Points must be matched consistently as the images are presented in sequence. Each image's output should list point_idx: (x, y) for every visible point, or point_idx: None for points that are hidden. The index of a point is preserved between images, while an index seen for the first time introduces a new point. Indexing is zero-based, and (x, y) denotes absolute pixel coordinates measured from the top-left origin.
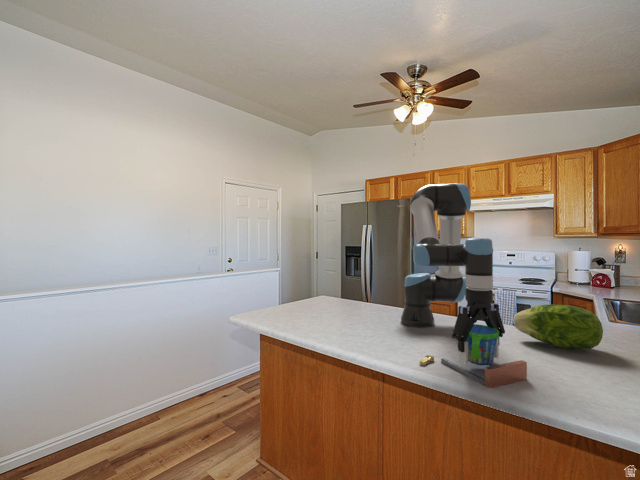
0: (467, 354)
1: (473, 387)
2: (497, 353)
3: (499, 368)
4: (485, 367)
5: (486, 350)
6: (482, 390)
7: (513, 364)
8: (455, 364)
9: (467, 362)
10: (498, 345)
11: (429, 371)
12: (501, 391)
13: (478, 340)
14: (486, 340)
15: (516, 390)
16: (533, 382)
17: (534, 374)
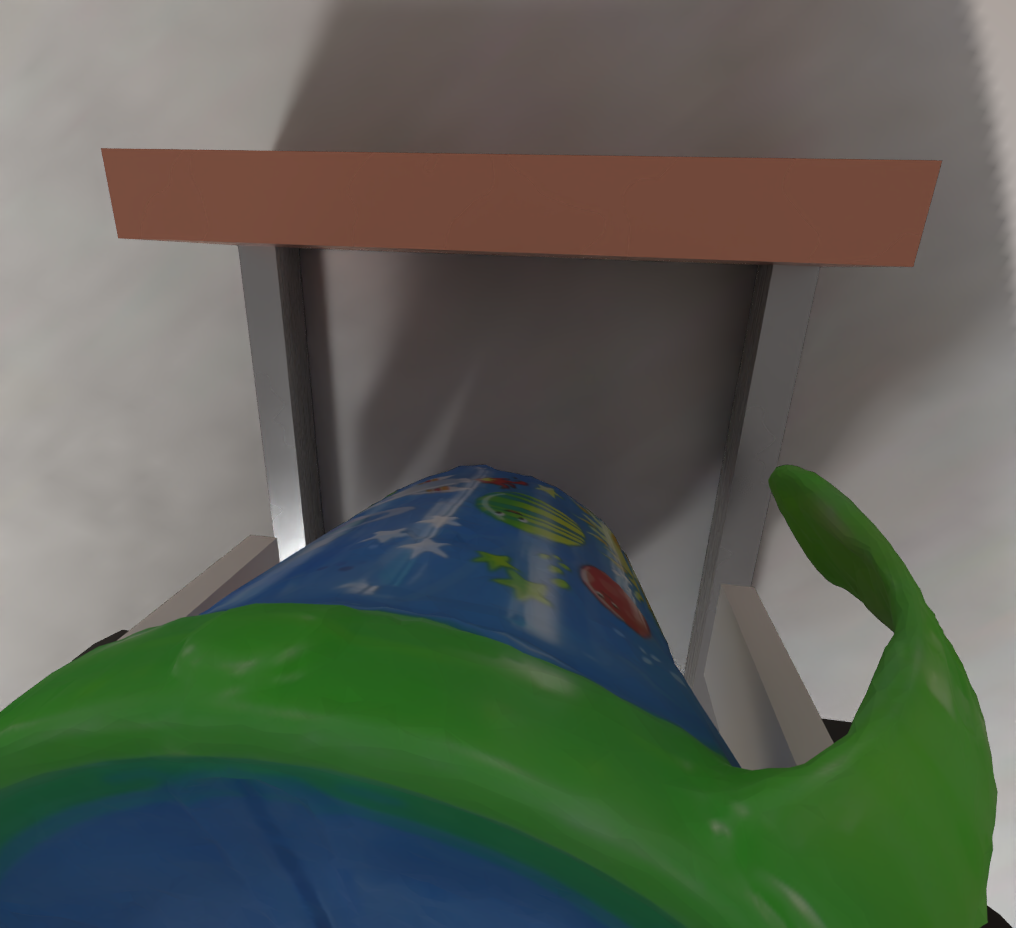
0: (764, 663)
1: (962, 285)
2: (232, 564)
3: (692, 158)
4: (910, 256)
5: (547, 548)
6: (949, 186)
7: (369, 157)
8: (698, 682)
9: (735, 593)
10: (139, 623)
11: (985, 719)
12: (774, 73)
13: (932, 733)
14: (564, 666)
15: (591, 21)
16: (245, 103)
17: (92, 244)
